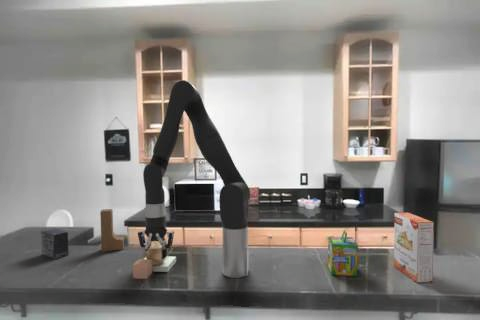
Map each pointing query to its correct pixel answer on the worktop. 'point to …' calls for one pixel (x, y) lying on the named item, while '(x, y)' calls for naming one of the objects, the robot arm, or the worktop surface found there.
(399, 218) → the cracker box
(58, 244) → the small box
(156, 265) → the pad
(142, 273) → the cube
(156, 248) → the tan rectangular block
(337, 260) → the chalk box
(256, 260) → the worktop surface
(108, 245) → the wooden block
